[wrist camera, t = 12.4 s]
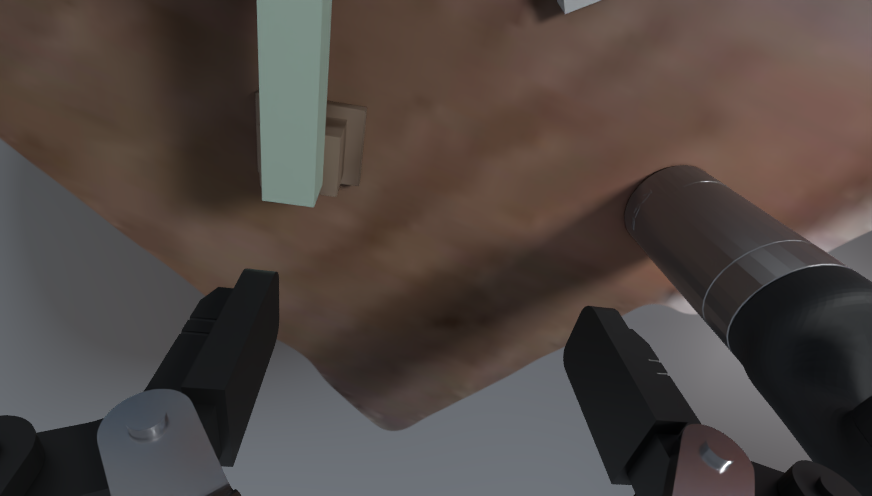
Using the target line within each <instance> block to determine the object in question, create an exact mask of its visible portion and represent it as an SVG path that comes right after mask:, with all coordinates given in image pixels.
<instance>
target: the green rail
mask: <svg viewBox="0 0 872 496" xmlns="http://www.w3.org/2000/svg"><path fill="white" fill-rule="evenodd" d="M331 9H332V0H257V26H258V63H259V100H260V137H261V174H262V201H270V202H278V203H285V204H293V205H300V206H308V207H314V205H315V203H316V200H317V198H318V195H319V192H320V190H321V187H322V183H323V164H324V144H325V125H326V106H327V87H328V67H329V48H330V29H331Z"/></svg>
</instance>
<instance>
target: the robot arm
mask: <svg viewBox="0 0 872 496" xmlns="http://www.w3.org/2000/svg"><path fill="white" fill-rule="evenodd" d="M624 219H625V226H626V228H627V230H628V232H629V234H630V235H631V236H632V237H633V238H634V239H635V241H636V242H637V243H638V244H639V245H640V247H641V248H642V249H643V250H644V251H645V252H646V254H647V255H648V256H649V257H650V259H651V260H652V261H653V262H654V263H655V264H656V265H657V267H658V268H659V269H660V270H661V271H662V272H663V274H664V275H665V276H666V277H667V278H668V279H669V281H670V282H671V283H672V284H673V285H674V286H675V287H676V289H677V290H678V291H679V292H680V293H681V294H682V296H683V297H684V298H685V299H686V300H687V301H688V303H689V304H690V305H691V306H692V307H693V308H694V310H695V311H696V312H697V313H698V314H699V315H700V316H701V318H703V320H704V321H705V322H706V323H707V325H708V326H709V327H710V328H711V329H712V330H713V331H714V332H715V334H716V335H717V336H718V337H719V338H720V339H721V340H722V342H723V343H724V344H725V345H726V346H727V347H728V349H729V350H730V351H731V352H732V353H733V354H734V355H735V357H736V358H737V359H738V360H739V361H740V362H741V364H742V365H743V367H744V369H745V371H746V373H747V375H748V377H749V379H750V380H751V382H752V383H753V385H754V386H755V387H756V388H757V390H758V391H759V392H760V394H761V395H762V396H763V397H764V399H765V400H766V401H767V402H768V403H769V405H770V406H771V407H772V408H773V410H774V411H775V412H776V413H777V415H778V416H779V417H780V419H781V420H782V421H783V423H784V424H785V425H786V426H787V428H788V429H789V430H790V432H791V433H792V434H793V436H794V437H795V438H796V440H797V441H798V442H799V443H800V445H801V446H802V448H803V449H804V450H805V452H806V453H807V454H808V455H809V457H810V458H811V459H812V461H813V462H812V461H807V460H804V461H803V460H801V461H798V462H796V463H795V464H794V465H793V466H791V467H790V468H789V469H788V470H787V471H786V472H785V473H784V472H781V471H777V470H775V469H772V468H769V467H766V466H764V465H761V464H758V463H755V462H752V461H750V459H749V457H748V456H747V455H746V453H745V452H744V451H743V450H742V448H741V447H740V446H739V445H738V444H737V443H736V442H735V441H733V440H732V439H731V438H729V437H728V436H727V435H726V434H724V433H722V432H721V431H719V430H716V429H715V428H713V427H710V426H707V425H703V424H701V423H700V421H699V420H698V418H697V417H696V415H695V413H694V412H693V410H692V409H691V408H690V406H689V404H688V403H687V401H686V400H685V398H684V397H683V395H682V394H681V392H680V391H679V389H678V388H677V386H676V385H675V383H674V382H673V380H672V379H671V377H670V376H668V375H667V371H666V370H665V368H664V366H663V365H662V364H661V363H659V359H658V357H657V356H656V354H655V353H654V351H653V350H652V349H651V347H650V345H649V344H648V343H647V342H646V341H645V340H644V339H643V338H642V337H640V336H639V335H638V334H637V333H636V332H635V331H634V330H633V329H629V328H628V326H627V325H626V323H625V322H624V320H623V319H622V317H621V315H620V314H619V312H618V311H617V310H616V309H613V308H603V307H594V306H586V307H584V308H583V310H582V311H581V313H580V315H579V318H578V320H577V322H576V324H575V326H574V328H573V331H572V333H571V335H570V337H569V339H568V341H567V343H566V346H565V349H564V356H563V358H564V359H563V361H564V367H565V370H566V373H567V375H568V378H569V380H570V383H571V385H572V387H573V390H574V392H575V395H576V397H577V400H578V402H579V405H580V407H581V410H582V412H583V414H584V417H585V419H586V422H587V424H588V427H589V429H590V432H591V434H592V437H593V439H594V442H595V444H596V447H597V449H598V451H599V454H600V456H601V459H602V461H603V463H604V466H605V468H606V471H607V474H608V476H609V478H610V481H611V483H612V484H622V485H632V487H633V489H634V491H635V495H634V496H872V282H871V281H869V280H868V279H866V278H865V277H863V276H862V275H860V274H859V273H857V272H856V271H854V270H852V269H851V268H849V267H848V266H846V265H845V264H843V263H842V262H840V261H839V260H837V259H836V258H834V257H833V256H831V255H830V254H828V253H827V252H825V251H824V250H822V249H820V248H819V247H817V246H816V245H814V244H813V243H811V242H810V241H808V240H807V239H805V238H804V237H802V236H801V235H799V234H798V233H796V232H795V231H793V230H792V229H790V228H789V227H787V226H786V225H784V224H783V223H781V222H780V221H778V220H777V219H775V218H774V217H772V216H771V215H769V214H768V213H766V212H765V211H763V210H762V209H760V208H759V207H757V206H756V205H754V204H753V203H751V202H750V201H748V200H747V199H745V198H744V197H742V196H741V195H739V194H738V193H736V192H734V191H733V190H731V189H730V188H729V187H727V186H726V185H724V184H723V183H721V182H720V181H718V180H717V179H715V178H714V177H712V176H711V175H709V174H708V173H706V172H705V171H703V170H701V169H699V168H697V167H694V166H688V165H680V166H673V167H669V168H666V169H663V170H661V171H659V172H656V173H655V174H653V175H652V176H650V177H648V178H647V179H646V180H645V181H644V182H643V183H641V184H640V185H639V186H638V188H637V189H636V190H635V191H634V192H633V194H632V196H631V197H630V199H629V201H628V203H627V206H626V209H625V217H624ZM278 328H279V275H278V272H274V271H264V270H255V269H244V270H243V272H242V274H241V276H240V277H239V279H238V281H237V283H236V285H235V287H234V289H233V288H223V287H218V288H216V289H215V290H214V291H212V292H211V293H210V294H208V295H207V296H205V297H204V298H203V299H201V300H200V302H199V303H198V305H197V307H196V308H195V310H194V311H193V313H192V314H191V316H190V320H188V321H187V323H186V324H185V326H184V327H183V329H182V333H181V334H179V336H178V337H177V339H176V340H175V342H174V344H173V345H172V347H171V348H170V350H169V352H168V353H167V355H166V357H165V358H164V360H163V361H162V363H161V365H160V366H159V368H158V370H157V371H156V373H155V374H154V376H153V378H152V379H151V381H150V382H149V384H148V386H147V387H146V389H145V390H144V391H143V392H141V393H138V394H136V395H134V396H131V397H129V398H127V399H125V400H124V401H122V402H121V403H119V404H118V405H116V406H115V407H114V408H113V409H112V410H111V411H110V412H109V413H108V414H107V415H106V416H105V417H104V418H103V419H100V420H97V421H93V422H89V423H85V424H79V425H74V426H69V427H64V428H59V429H54V430H49V431H44V432H39V433H36V431H35V429H34V427H33V426H32V424H31V423H30V422H29V421H27V420H25V419H23V418H21V417H17V416H8V415H4V416H0V496H241V494H240V493H239V492H238V491H237V490H236V489H235V490H233V489H232V488H231V486H230V484H229V483H228V481H227V478H226V476H225V474H224V472H223V470H222V467H221V466H228V467H233V465H234V462H235V460H236V456H237V453H238V451H239V448H240V445H241V442H242V439H243V436H244V433H245V430H246V428H247V424H248V422H249V419H250V416H251V413H252V410H253V407H254V404H255V401H256V398H257V396H258V392H259V390H260V387H261V384H262V381H263V378H264V375H265V372H266V369H267V366H268V364H269V360H270V358H271V355H272V352H273V349H274V346H275V342H276V339H277V334H278Z"/></svg>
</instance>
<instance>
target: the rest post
mask: <svg viewBox="0 0 872 496" xmlns="http://www.w3.org/2000/svg"><path fill="white" fill-rule="evenodd" d="M255 105H256V134H257V164H258V172H259V173H260V187H262V174H261V137H260V100H259V90H258V91H256V92H255ZM366 114H367V107H363V106H357V105H351V104H345V103H339V102H333V101H327V106H326V125H325V144H324V164H323V183H322V187H321V190H320V192H319V195H326V196H333V197H337V193H338V190H339V187H340V184H346V185H353V186H359V183H360V175H361V165H362V155H363V145H364V134H365V124H366Z"/></svg>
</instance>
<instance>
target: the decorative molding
mask: <svg viewBox="0 0 872 496" xmlns="http://www.w3.org/2000/svg"><path fill="white" fill-rule="evenodd" d="M598 1H600V0H557V2H558V4H559V5H560V7H561V9H562V10H563V12H564V13H565V14H567V13H569V12H572V11H574V10H577V9H579V8H582V7H585V6H587V5H590V4H592V3H595V2H598Z"/></svg>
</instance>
